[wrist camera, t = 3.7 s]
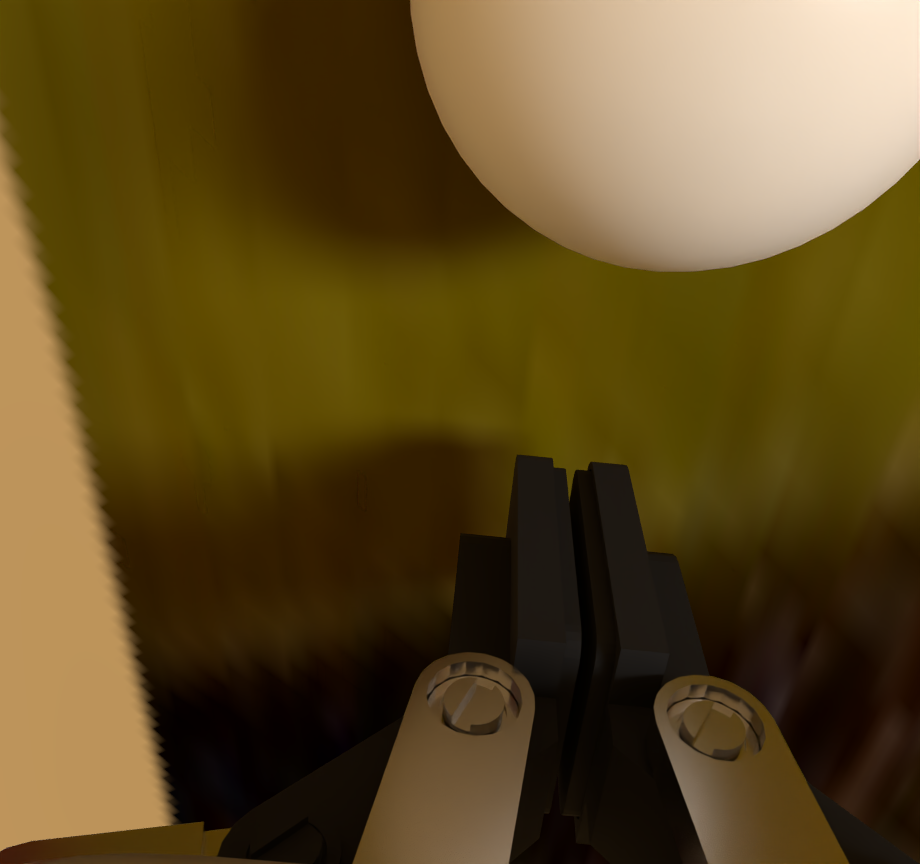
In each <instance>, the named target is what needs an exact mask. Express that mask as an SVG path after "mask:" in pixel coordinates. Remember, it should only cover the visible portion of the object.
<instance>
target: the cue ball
mask: <svg viewBox="0 0 920 864" xmlns="http://www.w3.org/2000/svg"><path fill="white" fill-rule="evenodd" d="M410 10H411V18H412V25H413V31H414V37H415V43H416V49H417V54H418V58H419V61H420V65H421V68H422V72H423V75H424V79H425V82H426V86H427V89H428V92H429V94H430V97H431V99H432V102H433V104H434V106H435V109H436V111H437V113H438V116H439V118H440V120H441V123H442V125H443V127H444V128H445V130H446V132H447V134H448V135H449V137H450V139H451V141H452V142H453V144H454V146H455V148H456V149H457V151H458V153H459V154H460V156H461V157H462V159H463V160H464V161H465V163H466V164H467V165H468V166H469V168H470V169H471V170H472V172H473V173H474V174H475V176H476V177H477V178H478V180H479V181H480V182H481V183H482V184H483V185H484V186H485V187H486V188H487V189H488V190H489V191H490V192H491V193H492V195H493V196H494V197H495V198H496V199H497V200H498V201H499V202H500V203H501V204H502V205H503V206H504V207H506V208H507V209H508V210H509V211H511V212H512V213H513V214H514V215H516V216H517V217H518V218H520V219H521V220H522V221H524V222H525V223H526V224H527V225H529V226H530V227H531V228H533V229H534V230H535V231H537V232H539V233H541V234H542V235H544V236H546V237H547V238H549V239H551V240H553V241H554V242H556V243H558V244H560V245H561V246H563V247H565V248H568V249H570V250H573V251H575V252H578V253H580V254H582V255H585V256H587V257H590V258H592V259H595V260H599V261H603V262H607V263H610V264H614V265H618V266H622V267H626V268H634V269H642V270H650V271H658V272H692V271H702V270H710V269H719V268H727V267H733V266H737V265H741V264H745V263H749V262H753V261H757V260H762V259H766V258H768V257H771V256H774V255H776V254H779V253H782V252H784V251H787V250H790V249H792V248H795V247H798V246H800V245H802V244H804V243H806V242H808V241H810V240H812V239H814V238H816V237H818V236H820V235H822V234H824V233H826V232H828V231H830V230H832V229H834V228H835V227H837V226H838V225H840V224H841V223H843V222H844V221H846V220H847V219H849V218H850V217H852V216H854V215H855V214H857V213H858V212H860V211H861V210H863V209H864V208H866V207H867V206H868V205H869V204H871V203H872V202H873V201H874V200H876V199H877V198H878V197H879V196H881V195H882V194H883V193H884V192H885V191H887V190H888V189H889V188H890V187H892V186H893V185H894V184H895V183H896V182H897V181H898V180H899V179H900V178H901V177H902V176H903V175H904V174H905V173H906V172H907V171H908V170H909V169H910V168H911V167H912V166H913V165H914V164H915V163H916V162H917V161H918V160H919V159H920V0H410Z"/></svg>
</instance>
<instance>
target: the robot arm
mask: <svg viewBox="0 0 920 864" xmlns="http://www.w3.org/2000/svg"><path fill="white" fill-rule="evenodd" d="M557 773H558V783H559V803H560V812H561V814H562V815H568V816H574V819H575V834H576V843H581V844H590V845H592V846H593V847H594V848H595V849H596V850H597V851H598V852H599V853H600V854H601V855H602V856H603V857H604V858H605V859H606V860H607V861H608V862H609V863H610V864H919V863H917V862H916V861H914V860H913V859H912V858H910V857H909V856H908V855H906V854H905V853H904V852H902V851H901V850H899V849H898V848H897V847H895V846H894V845H893V844H891V843H890V842H889V841H887V840H886V839H884V838H883V837H882V836H880V835H879V834H878V833H876V832H875V831H873V830H872V829H871V828H869V827H868V826H867V825H865V824H864V823H863V822H861V821H860V820H858V819H857V818H856V817H854V816H853V815H852V814H850V813H849V812H848V811H846V810H845V809H843V808H842V807H841V806H839V805H838V804H837V803H835V802H834V801H833V800H831V799H830V798H828V797H827V796H826V795H824V794H823V793H822V792H820V791H819V790H818V789H816V788H815V787H813V786H812V785H811V784H809V783H808V782H807V781H806V780H805V778H804V776H803V774H802V772H801V770H800V769H799V767H798V765H797V763H796V761H795V759H794V757H793V755H792V753H791V751H790V749H789V748H788V746H787V744H786V742H785V740H784V738H783V736H782V734H781V732H780V730H779V729H778V727H777V725H776V723H775V721H774V719H773V718H772V716H771V715H770V714H769V712H768V711H767V709H766V708H765V707H764V705H763V704H762V703H760V702H759V701H758V700H757V699H756V698H755V697H753V696H752V695H751V694H750V693H749V692H747V691H745V690H744V689H742V688H740V687H738V686H736V685H735V684H733V683H731V682H728V681H725V680H722V679H719V678H715V677H711V676H709V673H708V669H707V666H706V662H705V658H704V655H703V651H702V647H701V644H700V640H699V636H698V633H697V629H696V625H695V622H694V618H693V614H692V611H691V607H690V603H689V600H688V596H687V592H686V589H685V585H684V581H683V578H682V574H681V571H680V567H679V563H678V561H677V558H676V556H674V555H673V554H667V553H657V552H647V550H646V546H645V541H644V537H643V532H642V528H641V523H640V519H639V514H638V510H637V505H636V501H635V497H634V492H633V488H632V483H631V479H630V474H629V470H628V467H627V466H626V465H619V464H609V463H599V462H590V464H589V466H588V470H587V471H584V470H576V471H575V474H574V478H573V484H572V490H571V496H570V502H569V497H568V487H567V477H566V469H564V468H553V459H552V458H547V457H536V456H526V455H517V457H516V462H515V469H514V477H513V485H512V493H511V501H510V509H509V517H508V524H507V532H506V538H503V537H493V536H483V535H473V534H462V533H461V535H460V545H459V554H458V564H457V574H456V584H455V594H454V604H453V614H452V624H451V634H450V643H449V653H448V656H446V657H443V658H441V659H438V660H436V661H434V662H433V663H432V664H431V665H429V666H428V667H427V668H426V669H425V670H423V671H422V673H421V675H420V677H419V678H418V680H417V682H416V683H415V686H414V689H413V692H412V695H411V698H410V700H409V703H408V706H407V709H406V712H405V715H404V716H403V717H402V718H400V719H398V720H397V721H395V722H394V723H392V724H390V725H389V726H387V727H385V728H384V729H382V730H381V731H379V732H377V733H376V734H374V735H372V736H371V737H369V738H368V739H366V740H364V741H363V742H361V743H360V744H358V745H356V746H355V747H353V748H351V749H350V750H348V751H347V752H345V753H343V754H342V755H340V756H338V757H337V758H335V759H334V760H332V761H330V762H329V763H327V764H325V765H324V766H322V767H321V768H319V769H317V770H316V771H314V772H312V773H311V774H309V775H308V776H306V777H304V778H303V779H301V780H299V781H298V782H296V783H295V784H293V785H291V786H290V787H288V788H287V789H285V790H283V791H282V792H280V793H278V794H277V795H275V796H274V797H272V798H270V799H269V800H267V801H265V802H264V803H262V804H261V805H259V806H257V807H256V808H254V809H252V810H251V811H250V812H249V813H247V814H246V815H245V816H244V817H242V818H241V819H240V820H239V821H238V822H236V823H235V824H234V826H233V827H232V828H230V829H222V830H213V831H205V828H204V822H197V823H188V824H179V825H171V826H162V827H153V828H144V829H136V830H126V831H117V832H109V833H100V834H91V835H82V836H73V837H64V838H56V839H46V840H38V841H31V842H27V843H23V844H19V845H16V846H12V847H8V848H6V849H4V850H2V851H0V864H509V863H510V862H511V861H513V860H514V859H515V858H516V857H517V856H519V855H520V854H521V853H522V852H523V851H525V850H526V849H527V848H528V847H529V846H531V845H532V844H533V843H534V842H535V841H537V840H538V839H539V836H540V831H541V826H542V821H543V816H544V813H549V812H550V808H551V803H552V798H553V793H554V788H555V783H556V778H557Z"/></svg>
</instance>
